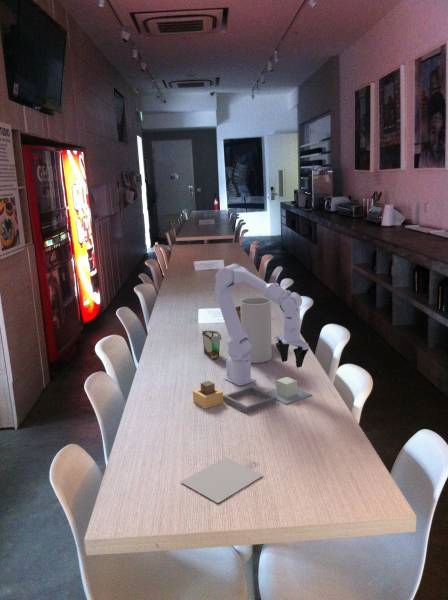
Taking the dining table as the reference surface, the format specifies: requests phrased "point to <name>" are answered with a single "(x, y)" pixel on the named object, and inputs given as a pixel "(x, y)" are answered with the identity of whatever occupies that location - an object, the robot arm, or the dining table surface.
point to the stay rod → (207, 388)
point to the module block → (286, 387)
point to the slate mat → (291, 399)
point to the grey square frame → (268, 401)
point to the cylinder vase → (257, 326)
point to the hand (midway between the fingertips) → (291, 364)
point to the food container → (211, 344)
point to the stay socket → (208, 398)
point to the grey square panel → (221, 479)
